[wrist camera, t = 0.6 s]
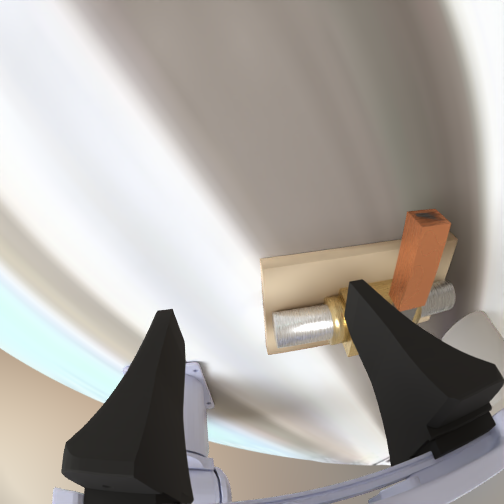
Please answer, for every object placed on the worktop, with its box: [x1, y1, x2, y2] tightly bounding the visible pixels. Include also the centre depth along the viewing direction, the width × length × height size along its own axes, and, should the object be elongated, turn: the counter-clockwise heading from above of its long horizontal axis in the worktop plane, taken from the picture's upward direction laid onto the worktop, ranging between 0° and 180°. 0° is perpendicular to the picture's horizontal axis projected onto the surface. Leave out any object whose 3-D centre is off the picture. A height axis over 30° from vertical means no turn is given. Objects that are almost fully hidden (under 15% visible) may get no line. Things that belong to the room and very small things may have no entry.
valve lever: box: [388, 209, 451, 321], centre depth 19 cm, size 12×2×2 cm, turn 4°
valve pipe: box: [272, 279, 455, 357], centre depth 24 cm, size 4×16×4 cm, turn 94°
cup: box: [441, 311, 504, 416], centre depth 30 cm, size 8×8×12 cm
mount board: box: [260, 232, 458, 355], centre depth 26 cm, size 10×17×1 cm, turn 94°
